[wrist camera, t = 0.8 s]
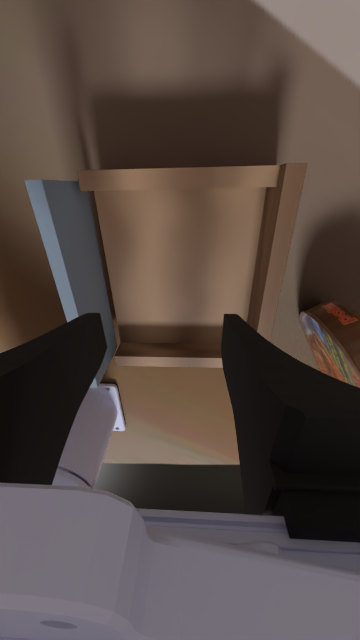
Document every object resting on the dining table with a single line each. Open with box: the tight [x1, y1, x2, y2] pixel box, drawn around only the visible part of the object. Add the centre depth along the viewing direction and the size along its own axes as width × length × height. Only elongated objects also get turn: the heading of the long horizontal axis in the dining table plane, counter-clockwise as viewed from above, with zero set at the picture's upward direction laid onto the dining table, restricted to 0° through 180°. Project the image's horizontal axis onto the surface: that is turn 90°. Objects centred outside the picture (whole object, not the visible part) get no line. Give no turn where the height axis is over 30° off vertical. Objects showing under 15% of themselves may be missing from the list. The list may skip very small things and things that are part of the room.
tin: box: [299, 299, 360, 388], centre depth 19 cm, size 15×3×8 cm, turn 32°
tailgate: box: [24, 180, 117, 388], centre depth 16 cm, size 1×13×5 cm, turn 1°
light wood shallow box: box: [77, 163, 308, 368], centre depth 17 cm, size 12×14×5 cm
